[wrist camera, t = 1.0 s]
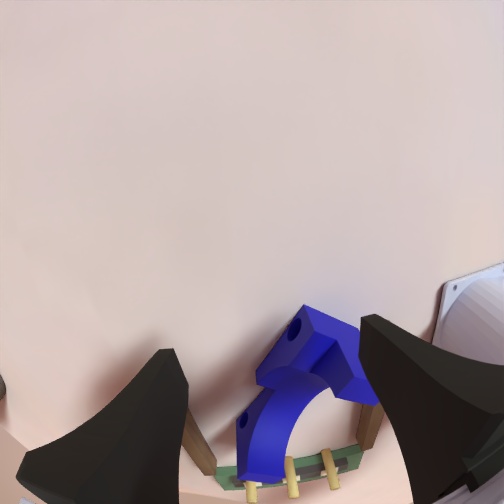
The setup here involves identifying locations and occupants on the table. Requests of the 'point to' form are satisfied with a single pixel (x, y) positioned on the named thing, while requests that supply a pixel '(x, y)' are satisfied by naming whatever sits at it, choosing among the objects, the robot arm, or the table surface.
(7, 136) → the table surface
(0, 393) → the pillar candle
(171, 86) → the table surface
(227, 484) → the header board
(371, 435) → the guide rails
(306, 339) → the cable clip
